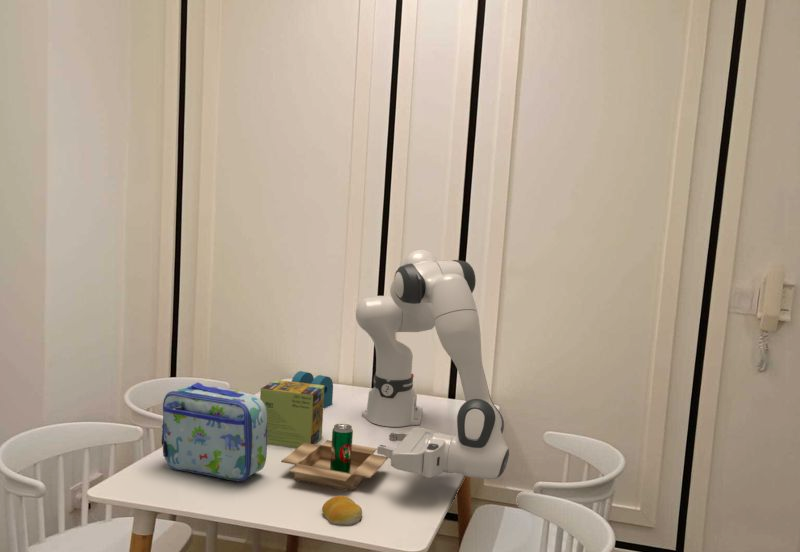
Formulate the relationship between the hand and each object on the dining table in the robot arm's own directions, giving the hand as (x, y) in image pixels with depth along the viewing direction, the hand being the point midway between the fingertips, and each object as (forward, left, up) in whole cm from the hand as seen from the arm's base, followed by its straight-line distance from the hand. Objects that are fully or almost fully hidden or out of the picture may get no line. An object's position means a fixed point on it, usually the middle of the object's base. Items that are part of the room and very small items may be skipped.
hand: (384, 442), depth 176 cm
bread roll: (+21, -2, -11) cm, 24 cm away
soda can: (+1, -11, -10) cm, 15 cm away
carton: (+1, -12, -10) cm, 16 cm away
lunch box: (+12, -40, -10) cm, 43 cm away
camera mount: (-45, -41, -10) cm, 61 cm away
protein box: (-16, -32, -10) cm, 38 cm away
